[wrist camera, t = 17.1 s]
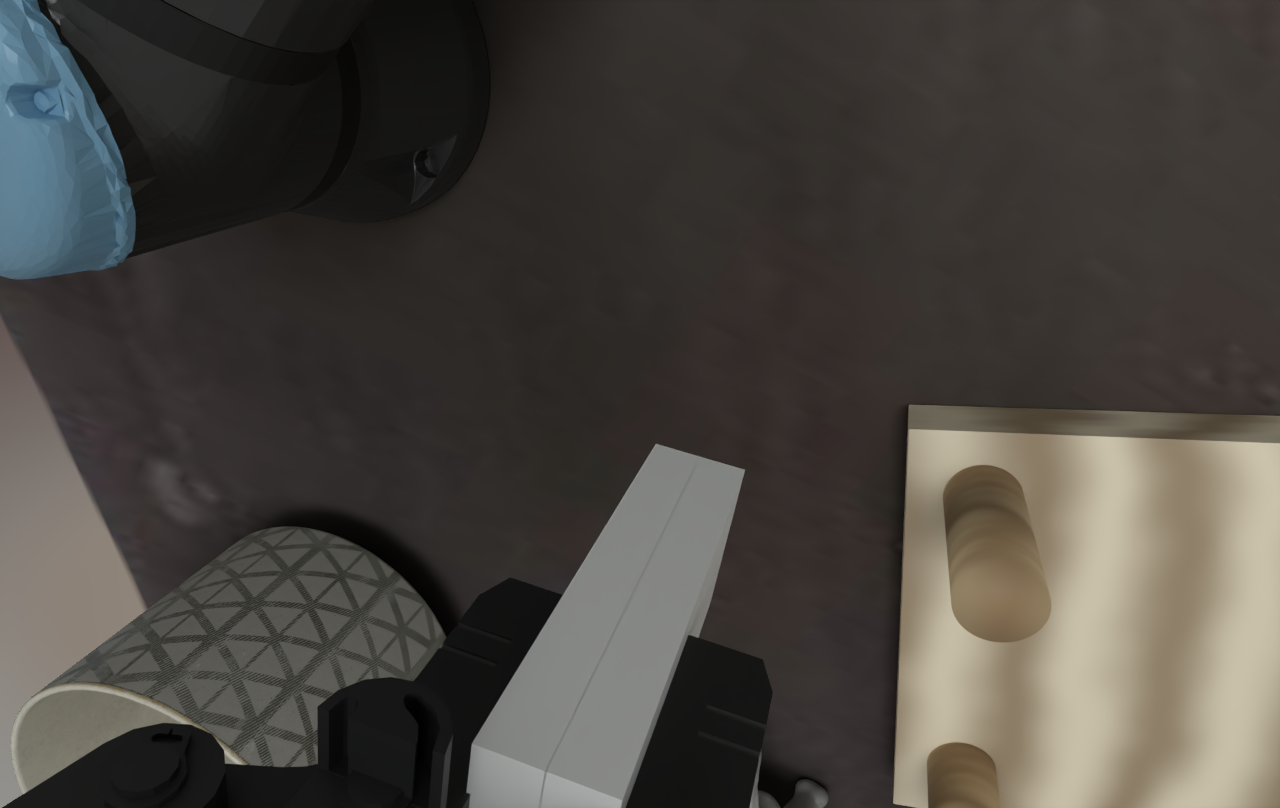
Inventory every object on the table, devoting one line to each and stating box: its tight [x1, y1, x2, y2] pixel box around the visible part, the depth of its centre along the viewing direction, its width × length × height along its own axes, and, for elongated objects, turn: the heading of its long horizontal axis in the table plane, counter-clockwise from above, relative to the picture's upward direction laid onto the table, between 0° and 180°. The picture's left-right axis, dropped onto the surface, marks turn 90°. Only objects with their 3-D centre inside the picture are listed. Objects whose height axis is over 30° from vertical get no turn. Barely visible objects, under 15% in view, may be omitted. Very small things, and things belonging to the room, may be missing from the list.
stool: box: [893, 405, 1280, 808], centre depth 38 cm, size 25×24×12 cm
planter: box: [11, 526, 447, 794], centre depth 52 cm, size 19×19×18 cm
